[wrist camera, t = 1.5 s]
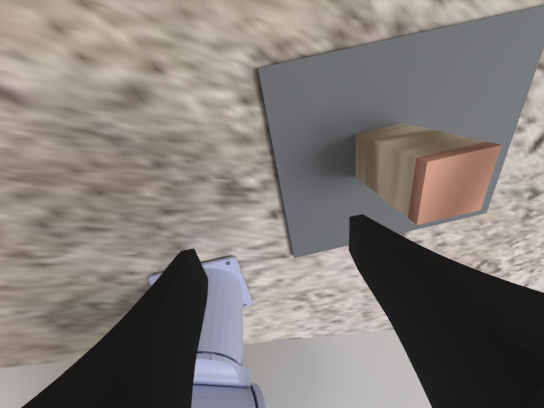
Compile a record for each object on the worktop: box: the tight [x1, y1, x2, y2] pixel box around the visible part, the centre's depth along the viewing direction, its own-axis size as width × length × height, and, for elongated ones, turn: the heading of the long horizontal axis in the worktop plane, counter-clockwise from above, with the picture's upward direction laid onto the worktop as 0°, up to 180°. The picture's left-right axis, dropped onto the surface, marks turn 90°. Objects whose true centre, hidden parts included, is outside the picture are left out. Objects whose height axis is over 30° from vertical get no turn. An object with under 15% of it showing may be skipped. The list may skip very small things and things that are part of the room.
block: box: [356, 123, 502, 225], centre depth 16 cm, size 4×4×8 cm
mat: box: [258, 6, 544, 258], centre depth 20 cm, size 22×18×1 cm
